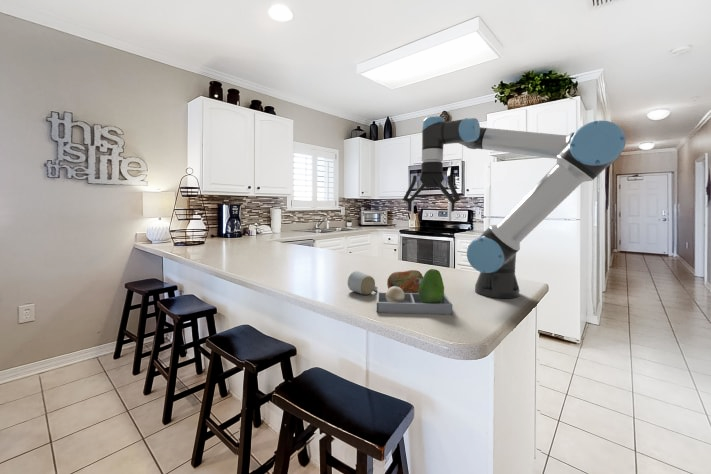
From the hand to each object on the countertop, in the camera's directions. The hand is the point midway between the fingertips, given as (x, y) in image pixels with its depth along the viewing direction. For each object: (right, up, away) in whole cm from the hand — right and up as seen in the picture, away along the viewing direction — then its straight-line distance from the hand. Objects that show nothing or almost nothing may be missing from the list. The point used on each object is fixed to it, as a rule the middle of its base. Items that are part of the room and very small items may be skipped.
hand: (430, 220), depth 121 cm
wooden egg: (-15, -25, -16) cm, 33 cm away
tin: (-9, -27, 0) cm, 29 cm away
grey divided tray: (-10, -29, -17) cm, 34 cm away
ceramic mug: (-25, -27, +1) cm, 36 cm away
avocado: (-4, -28, -17) cm, 33 cm away
